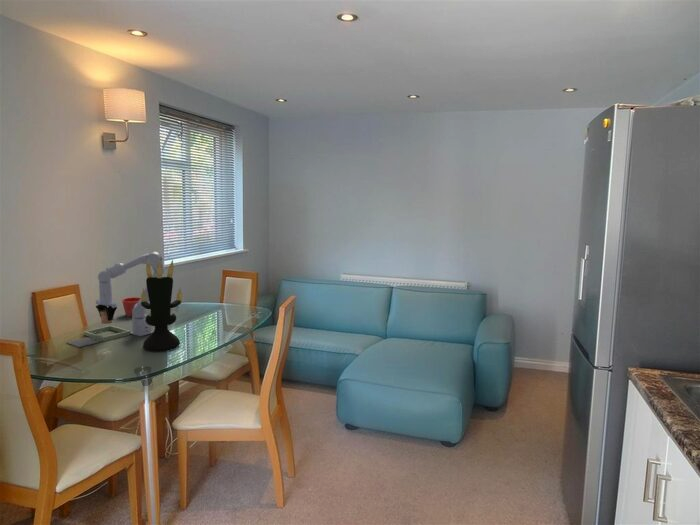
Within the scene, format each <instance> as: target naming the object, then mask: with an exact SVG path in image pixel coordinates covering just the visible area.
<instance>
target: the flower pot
mask: <svg viewBox="0 0 700 525" xmlns="http://www.w3.org/2000/svg"><path fill="white" fill-rule="evenodd" d="M140 298H141V297H138V296H137V297H135V296H134V297H126V298H123V299H122V304H123V310H124V313H125V316H126V315H127V316H126V317H129V316H133V314H132V310H133V308H134V305H135V304H136V303H138V302H139V300H140Z"/></svg>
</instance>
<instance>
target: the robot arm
mask: <svg viewBox="0 0 700 525" xmlns="http://www.w3.org/2000/svg"><path fill="white" fill-rule="evenodd" d="M147 260H148V262H149V264H150V266H151V269H152V270H153V272H152V277H157V266H158V263H159V260H160V264H161V266H162V276H163V275H164V273H165V266H164V260H163V256H162V255H161V253H160V252H158V251H154V250H153V251H151V252H150V253H149V252H148V253H145V254H142V255H140V256H138V257H135V258H134V259H132V260H129V261H128V262H125V263H121V262H119V263H118V262H116V263H115V264H114V265H113V266H110V267H106V268H105V269H103V270H101V271H100V272H99V273H98V275H97V279H98V291H99V299H96V300H95V304H96V305H95V308H96V309H97V312H98V313H99V317H100V318H101V314H100V311H102V310H106V313H107V318H108V321H110V320H112V321H113V320H114V316H115V312H116V311H117V309H118V307H117V303H115V302H114V301H113V293H112V292H113V288H112V279H116V278H117V277H120V276H122V275H125V274H126V272H127V270H129V269H132V268H134V267H136V266H138V265H141V264H143V265H146V264H147ZM144 292H145V294H146V302H148V303H150V302H149V296H148V291H147V286H145V288H144ZM139 298H140V300H139V302H138V303H136V304H135V305H134V308H133V310H132V314H133V316H132V317H131V319H132V320H131V324H132V326H131V327H132V331H131V335H134V336H138V337H143V336H146V335H151V334H152V333H153V332H154V331H152V326H151V325H148V324H147V323H146V321H145V319H146V316H147V315H148V314H146V310H147V309H146V308H144V307H143V306H142V305H141V297H139Z"/></svg>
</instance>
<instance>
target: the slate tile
mask: <svg viewBox="0 0 700 525" xmlns="http://www.w3.org/2000/svg"><path fill="white" fill-rule="evenodd" d="M98 342H100V343H102V341H100V340H97V339H94V338H91V337H87V336H86V337H83V338H79V339H74V340H70V341H67V342H66V344H67V343H68V344H67V345H70V344H71V345H70V346H73V347H76V348H79V349H80V348H84V347H87V345H88V346H91V344H92V345H95V343H96V344H99V343H98ZM83 346H84V347H83Z"/></svg>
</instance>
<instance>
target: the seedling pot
mask: <svg viewBox="0 0 700 525" xmlns="http://www.w3.org/2000/svg"><path fill="white" fill-rule="evenodd" d="M100 314H101V317H100V320H101V321H100V322H101V324H102V325H107V324H112V323H113V320H110V321H108V318H107V313H106V310H102V311H100ZM100 314H99V315H100Z"/></svg>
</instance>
